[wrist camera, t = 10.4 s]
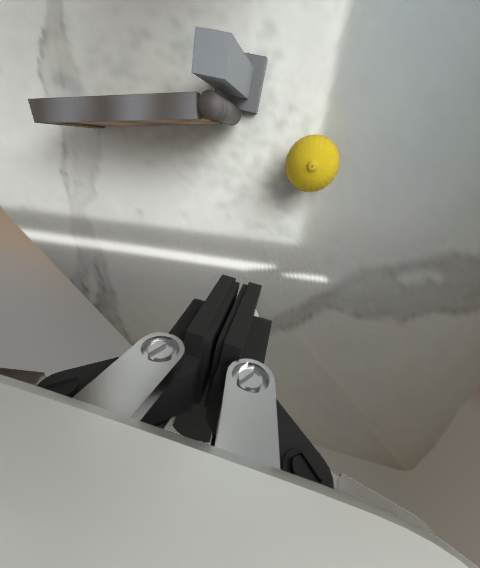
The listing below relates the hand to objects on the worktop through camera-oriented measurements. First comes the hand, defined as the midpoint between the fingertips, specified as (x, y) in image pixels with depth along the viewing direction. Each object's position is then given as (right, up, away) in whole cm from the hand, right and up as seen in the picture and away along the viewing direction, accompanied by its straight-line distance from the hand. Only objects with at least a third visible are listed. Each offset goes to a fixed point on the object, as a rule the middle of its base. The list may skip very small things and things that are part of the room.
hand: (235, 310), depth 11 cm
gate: (-9, +21, +22) cm, 32 cm away
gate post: (0, +24, +19) cm, 30 cm away
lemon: (+9, +16, +21) cm, 28 cm away
